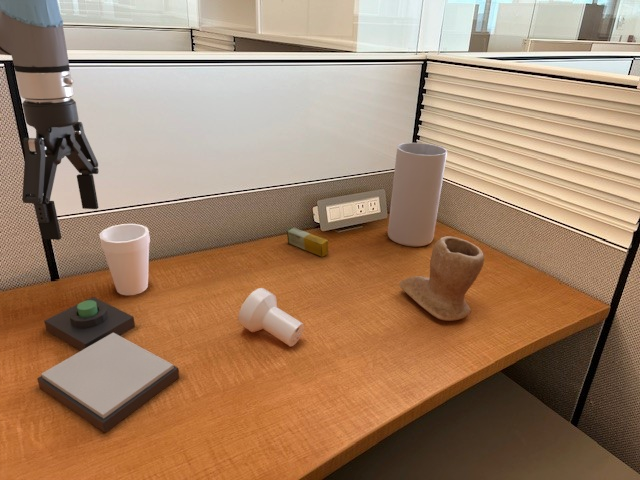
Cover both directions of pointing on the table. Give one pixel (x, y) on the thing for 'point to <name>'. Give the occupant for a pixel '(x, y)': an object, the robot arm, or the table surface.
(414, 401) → the table surface
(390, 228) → the cylinder vase
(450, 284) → the stone cup
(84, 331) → the dark grey button base
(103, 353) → the scale
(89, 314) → the button
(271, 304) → the spotlight
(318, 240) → the medication box
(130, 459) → the table surface
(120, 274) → the foam cup
